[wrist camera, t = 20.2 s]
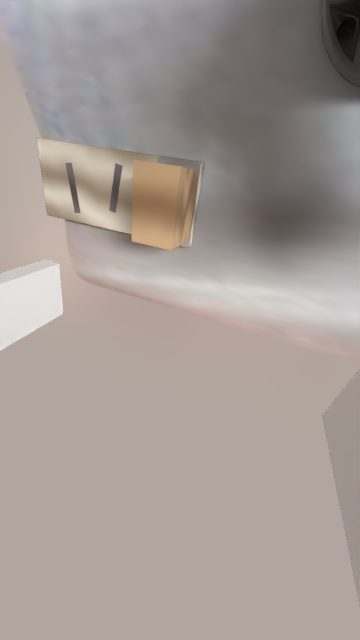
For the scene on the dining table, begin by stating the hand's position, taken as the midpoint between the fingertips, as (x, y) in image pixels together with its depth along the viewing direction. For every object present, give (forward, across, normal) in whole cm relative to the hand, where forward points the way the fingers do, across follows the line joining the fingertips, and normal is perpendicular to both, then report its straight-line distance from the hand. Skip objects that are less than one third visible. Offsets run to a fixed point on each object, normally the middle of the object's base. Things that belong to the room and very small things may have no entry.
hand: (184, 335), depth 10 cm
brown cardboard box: (+24, -10, +2) cm, 26 cm away
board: (+26, -19, +1) cm, 32 cm away
